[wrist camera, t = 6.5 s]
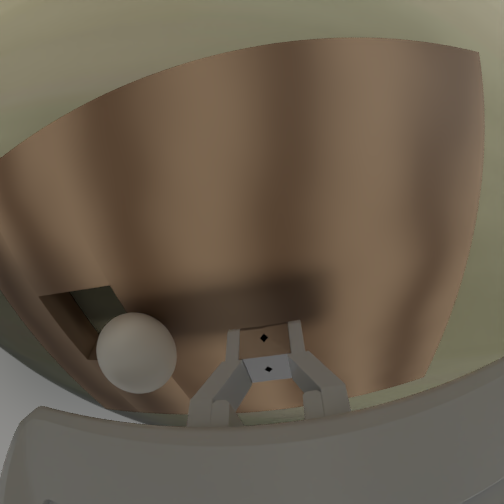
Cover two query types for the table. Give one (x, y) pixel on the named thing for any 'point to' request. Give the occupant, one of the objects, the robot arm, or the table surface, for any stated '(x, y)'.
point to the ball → (136, 353)
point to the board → (255, 211)
